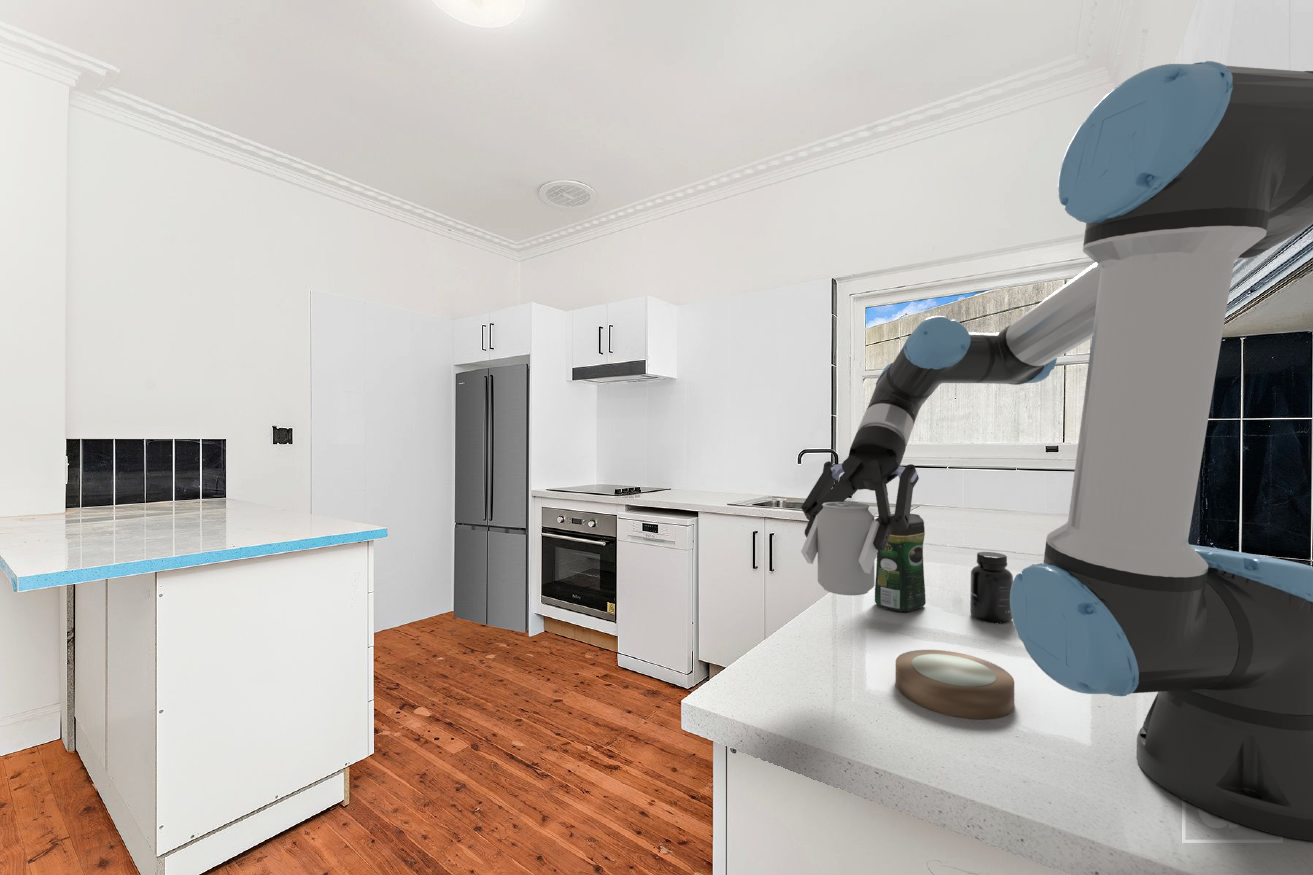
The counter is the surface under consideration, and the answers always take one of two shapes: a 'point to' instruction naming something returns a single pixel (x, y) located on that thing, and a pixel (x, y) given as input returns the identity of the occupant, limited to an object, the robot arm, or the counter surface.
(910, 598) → the coffee jar
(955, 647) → the counter surface
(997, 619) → the supplement bottle
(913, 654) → the pedestal
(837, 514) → the can
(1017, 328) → the robot arm
